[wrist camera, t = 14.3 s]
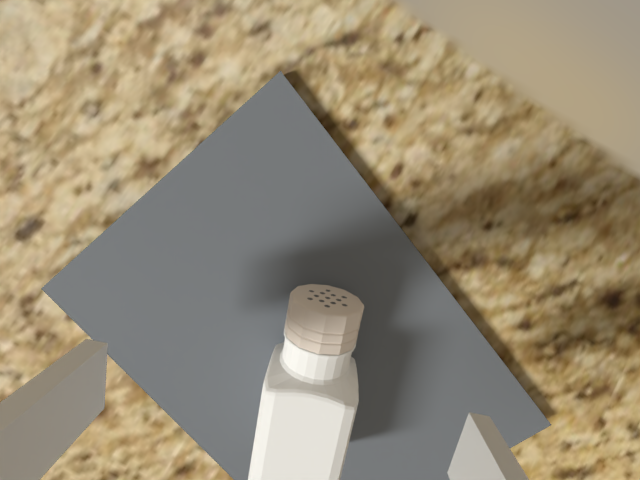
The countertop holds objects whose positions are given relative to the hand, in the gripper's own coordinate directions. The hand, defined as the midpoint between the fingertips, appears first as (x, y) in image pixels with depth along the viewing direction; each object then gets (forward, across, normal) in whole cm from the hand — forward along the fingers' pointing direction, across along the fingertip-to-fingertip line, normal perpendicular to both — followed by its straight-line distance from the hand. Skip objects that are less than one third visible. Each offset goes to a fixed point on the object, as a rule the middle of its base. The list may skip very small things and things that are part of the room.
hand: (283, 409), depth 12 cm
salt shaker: (+3, +1, -6) cm, 7 cm away
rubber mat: (+6, 0, -1) cm, 6 cm away
